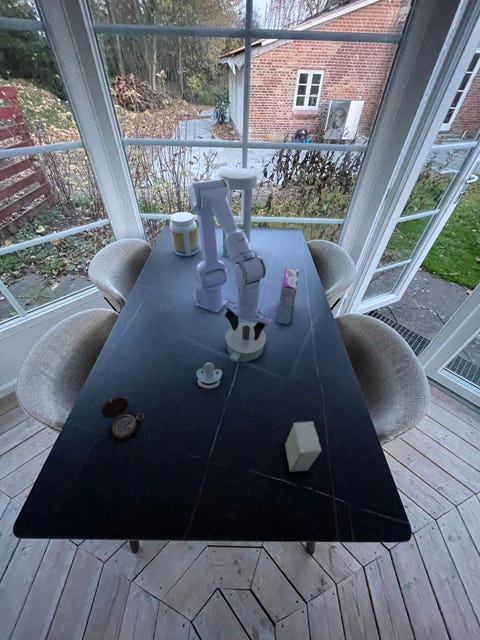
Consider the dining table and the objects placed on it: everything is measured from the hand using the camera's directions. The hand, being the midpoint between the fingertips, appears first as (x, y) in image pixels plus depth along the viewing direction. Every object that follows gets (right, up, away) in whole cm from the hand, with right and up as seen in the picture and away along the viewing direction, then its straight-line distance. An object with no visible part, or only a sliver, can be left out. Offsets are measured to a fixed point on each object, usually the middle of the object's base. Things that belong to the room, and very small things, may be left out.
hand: (245, 333), depth 81 cm
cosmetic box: (+11, -28, -19) cm, 36 cm away
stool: (-3, +38, +49) cm, 62 cm away
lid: (0, -2, +1) cm, 2 cm away
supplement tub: (-28, +38, +49) cm, 68 cm away
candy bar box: (+14, +6, +17) cm, 23 cm away
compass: (-30, -22, -14) cm, 40 cm away
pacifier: (-11, -13, -5) cm, 18 cm away
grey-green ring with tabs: (0, -5, +4) cm, 6 cm away
